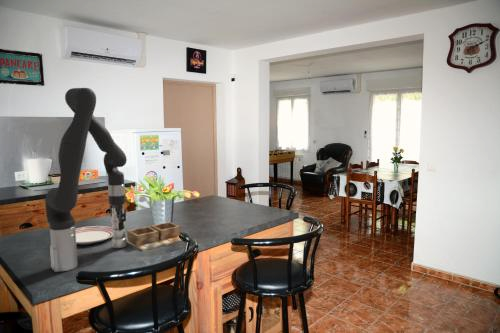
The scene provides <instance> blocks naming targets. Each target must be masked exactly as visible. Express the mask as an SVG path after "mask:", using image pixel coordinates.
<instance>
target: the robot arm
mask: <svg viewBox="0 0 500 333" xmlns="http://www.w3.org/2000/svg"><path fill="white" fill-rule="evenodd" d="M64 100H65V103H66V105H67V106H68V108H69V109H70V110H71V111H72V112H73V114H74V115H73V118H72V121H71V123H70V125H69V126H68V127H67V129H66V130H65V132H64V133H63V136H62V137H61V140H60V144H59V149H58V157H57V158H58V164H59V166H58V167H59V171H60V172H59V173H60V179H59V183H58V187H55V188H52V189H50V190H48V192H47V193H46V196H45V199H44V201H45V203H44V204H45V211H46V212H45V213H46V218H47V219H46V220H47V222H48V224H49V232H50V234H49V235H50V245H49V252H50V253H49V254H50V264H51V267H50V268H51V269H52V270H53V272H54V273H58V272H65V271H66V272H67V271H71V270H74V269H76V268H77V267H78V265H79V264H78V263H79V262H78V248H77V244H76V230H75V229H76V220H75V218H74V217H73V216H72V214H71V211H73V209H74V208H75V207H76V204H77V202H78V192H79V181H80V174H81V170H82V164H83V160H84V156H85V152H86V151H85V150H86V146H87V145H86V144H87V139H88V134H90V135H91V137H92V139H93V140H94V142H95V143H96V145H97V147H98V148H99V150H100V151H101V152H102V153H105V154H104V157H103V165H104V169H105V172H106V175H107V182H108V186H107V187H108V189H107V194H108V195H107V197H108V204H109V213H110V217H111V216H112V215H113V213H114V212H115V214H116V218H118V222H119V223H118V225H119V230H123V229H124V221H125V222H127V221H126V220H127V209H126V208H124V206H123V205H124V204H126V186H125V175H124V172H122V171H120V170H119V168H122V167H124V166H125V165H126V163H127V161H128V159H127V156H126V154H125V152H124V151H123V150H122V148H120V147H121V146H119V145H118V144H117V143H116V142H115V140H114V139H113V137H112V135H111V133H110V132H109V130H108V129H107V128H106V126H105V125H104V124H102V123H101V122H100V121H99V120H98V119H97V117H96V116H94V112H95V109H96V105H97V96H96V92H94V90H93V89H91V88H89V87H73V88H70V89H68V90H67V91H66V93H65V95H64ZM113 207H114V208H116V209H113ZM113 210H114V211H113ZM118 215H120V216H118Z"/></svg>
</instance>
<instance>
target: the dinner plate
mask: <svg viewBox="0 0 500 333" xmlns="http://www.w3.org/2000/svg"><path fill="white" fill-rule="evenodd" d="M75 230H76V245H92V244H96V243H100V242H103V241H105V240H108V239H110V238H111V239H112V238H113V229H112V227H111V226H105V225H94V226H82V227H77V228H76V227H75Z"/></svg>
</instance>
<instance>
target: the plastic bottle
mask: <svg viewBox="0 0 500 333" xmlns="http://www.w3.org/2000/svg"><path fill="white" fill-rule="evenodd" d="M113 209H116V208H114V207H113ZM113 211H114V210H113ZM118 216H120V215H118ZM110 222H111V226H112V229H113V237H112V238H111V247H112V248H114V249H122V248H125V247H126V246H127V243H128V242H127V241H126V240H127V236H126V231H125V230H126V229H125V227H126V226H125V225H126V221H124V229H123V230H119V225H118V223H119V222H118V218H116V214H115V212H114V213H113V215H112V216H111V215H110Z"/></svg>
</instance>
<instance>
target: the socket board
mask: <svg viewBox="0 0 500 333" xmlns="http://www.w3.org/2000/svg"><path fill="white" fill-rule="evenodd" d="M126 233H127V234H126V241H127V242H126V243H128V244H129V245H132V247H134V248H136V249H138V250H140V251H141V252H144V251H148V250H152V249H156V248H160V247H165V246H169V245H172V244H176V243H180V242H183V241H182V240H181V239H180V238H179V234H180V233H181V234H182V226H181V225H178V224H176V223H173V222H171V221H167V222H162V223H158V224H153V225H150V226H144V227H139V228H134V229H128V230H127V231H126Z"/></svg>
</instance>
